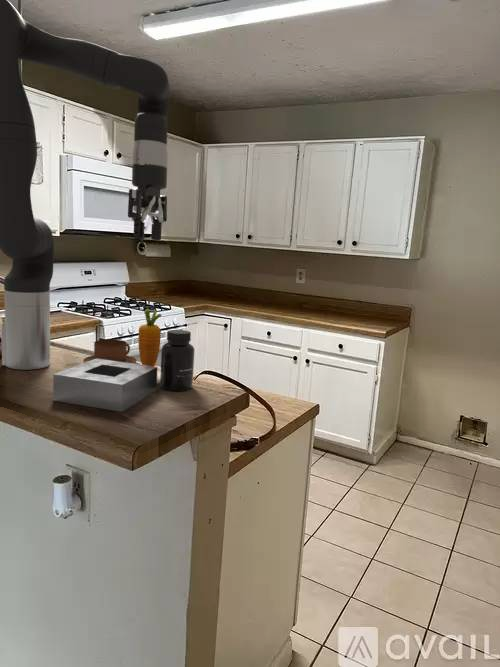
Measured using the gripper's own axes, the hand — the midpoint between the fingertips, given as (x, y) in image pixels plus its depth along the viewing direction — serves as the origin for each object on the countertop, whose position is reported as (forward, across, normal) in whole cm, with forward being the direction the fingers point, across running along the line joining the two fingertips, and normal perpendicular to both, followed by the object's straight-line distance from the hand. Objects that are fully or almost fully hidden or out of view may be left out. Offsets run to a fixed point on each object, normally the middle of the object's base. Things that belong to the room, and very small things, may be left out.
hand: (147, 239), depth 110 cm
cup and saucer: (+30, +2, -8) cm, 32 cm away
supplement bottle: (+30, +10, +13) cm, 34 cm away
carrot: (+30, +6, +4) cm, 31 cm away
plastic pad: (+30, +6, +4) cm, 31 cm away
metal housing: (+30, +21, +3) cm, 37 cm away
